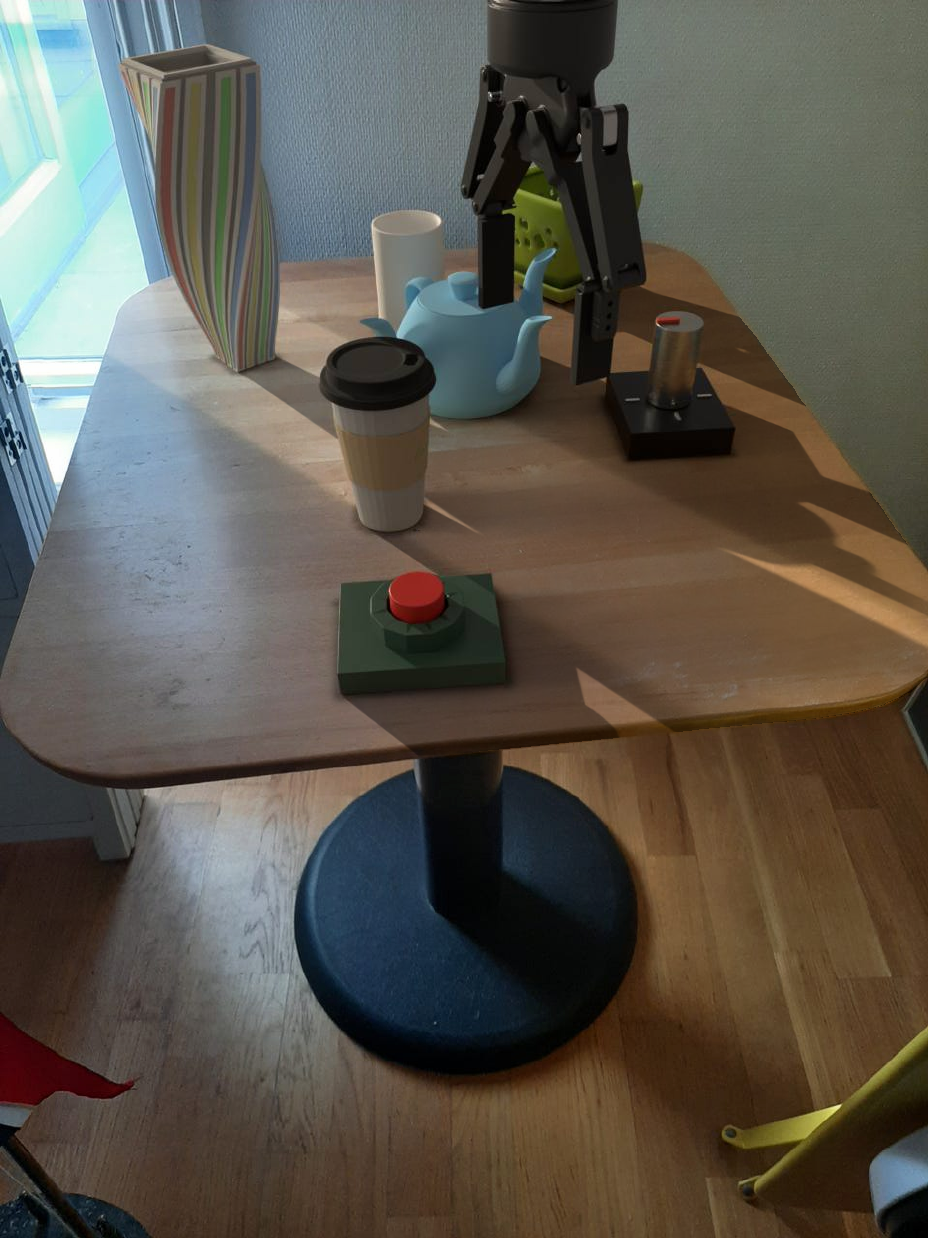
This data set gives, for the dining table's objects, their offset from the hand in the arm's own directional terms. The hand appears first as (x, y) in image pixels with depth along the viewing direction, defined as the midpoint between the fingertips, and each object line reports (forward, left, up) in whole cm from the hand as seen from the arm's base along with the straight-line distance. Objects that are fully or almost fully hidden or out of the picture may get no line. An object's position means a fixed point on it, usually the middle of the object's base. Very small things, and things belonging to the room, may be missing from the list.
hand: (539, 339), depth 67 cm
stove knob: (+18, -16, -16) cm, 28 cm away
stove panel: (+18, -16, -19) cm, 30 cm away
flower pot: (+54, -11, -19) cm, 58 cm away
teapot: (+27, +3, -19) cm, 33 cm away
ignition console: (-11, +10, -19) cm, 24 cm away
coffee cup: (+6, +12, -19) cm, 23 cm away
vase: (+38, +28, -19) cm, 51 cm away
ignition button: (-11, +10, -15) cm, 21 cm away
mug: (+46, +9, -19) cm, 50 cm away
